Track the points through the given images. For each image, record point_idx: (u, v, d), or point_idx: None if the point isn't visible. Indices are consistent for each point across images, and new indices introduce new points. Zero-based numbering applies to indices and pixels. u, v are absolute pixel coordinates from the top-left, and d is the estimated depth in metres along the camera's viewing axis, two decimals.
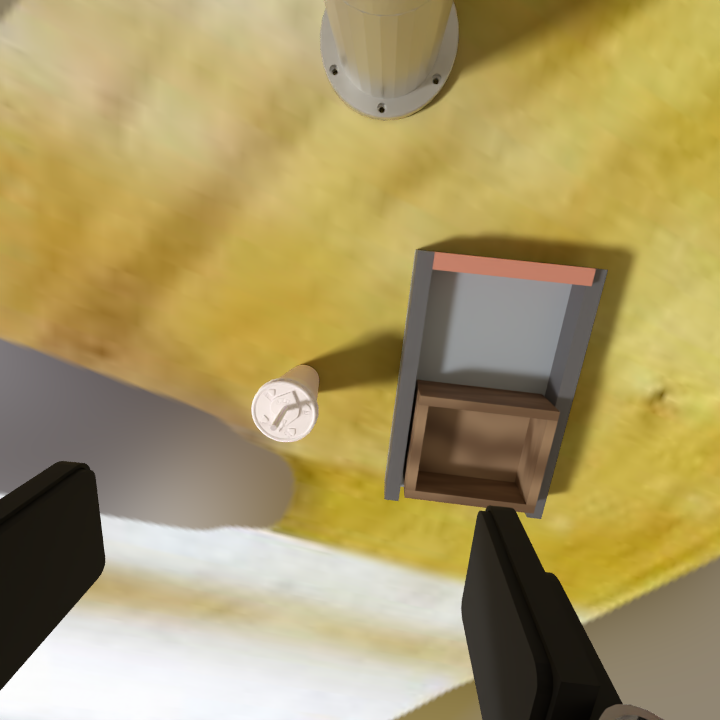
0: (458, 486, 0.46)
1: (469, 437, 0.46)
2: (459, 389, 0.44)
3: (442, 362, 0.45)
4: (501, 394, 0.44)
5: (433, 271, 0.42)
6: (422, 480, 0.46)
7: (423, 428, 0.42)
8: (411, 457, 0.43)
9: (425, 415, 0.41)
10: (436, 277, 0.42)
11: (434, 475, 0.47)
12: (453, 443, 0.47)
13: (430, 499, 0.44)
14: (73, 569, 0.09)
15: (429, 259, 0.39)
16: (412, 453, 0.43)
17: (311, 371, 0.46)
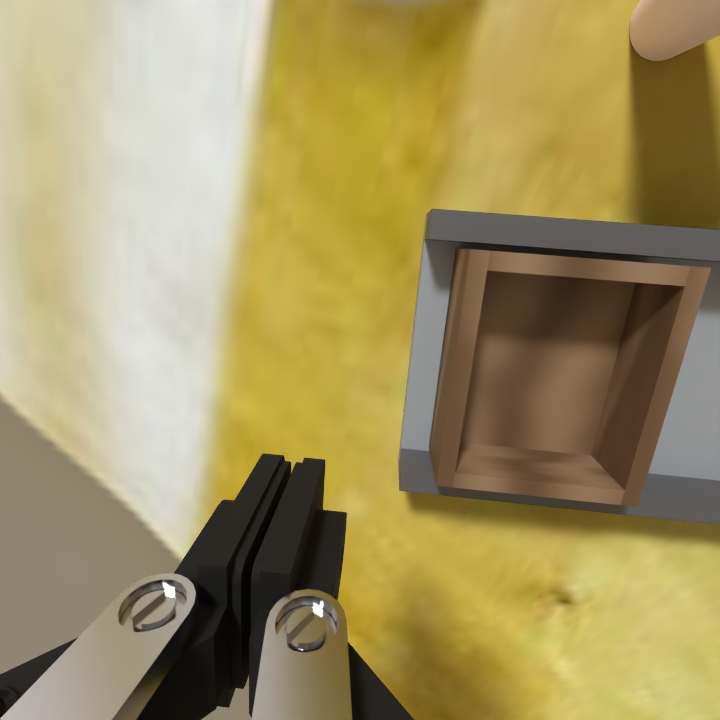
0: None
1: (535, 363, 0.26)
2: None
3: None
4: None
5: None
6: None
7: (634, 279, 0.21)
8: (566, 258, 0.21)
9: (664, 281, 0.21)
10: None
11: None
12: (525, 337, 0.26)
13: (465, 303, 0.22)
14: None
15: None
16: (577, 259, 0.21)
17: None
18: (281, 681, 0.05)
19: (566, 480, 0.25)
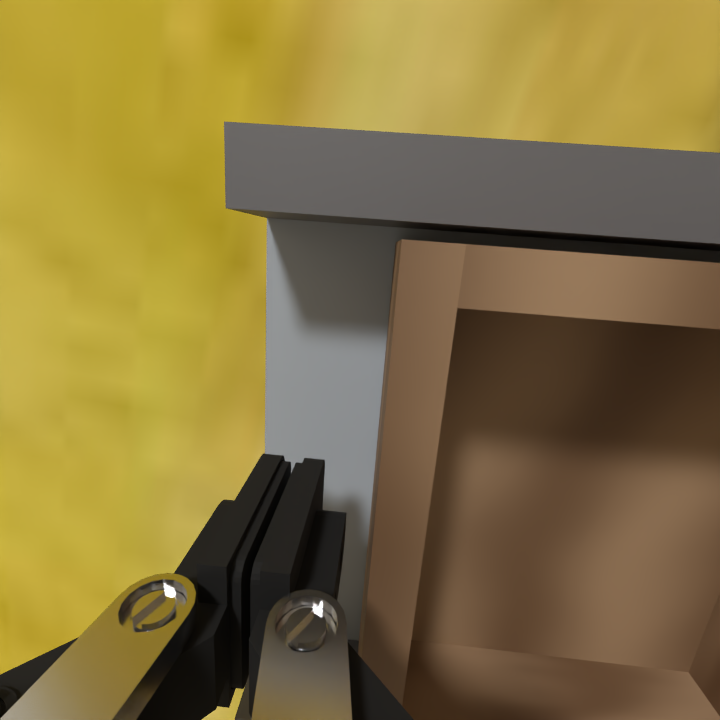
0: None
1: (578, 496, 0.12)
2: None
3: None
4: None
5: None
6: None
7: None
8: None
9: None
10: None
11: None
12: (555, 442, 0.12)
13: (394, 406, 0.07)
14: None
15: None
16: None
17: None
18: (281, 681, 0.05)
19: None
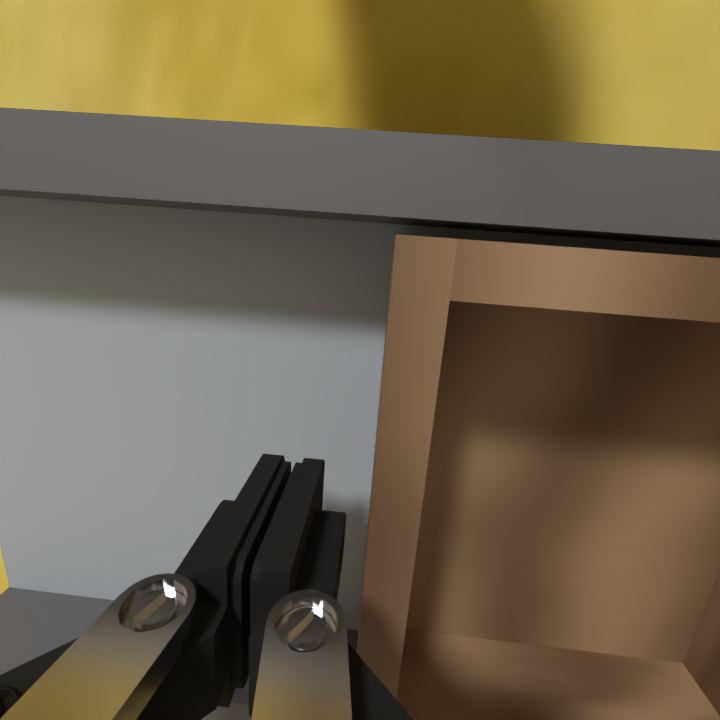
0: None
1: (573, 488, 0.12)
2: None
3: None
4: None
5: None
6: None
7: None
8: (705, 262, 0.06)
9: None
10: None
11: None
12: (550, 435, 0.12)
13: (389, 395, 0.07)
14: None
15: None
16: None
17: None
18: (281, 681, 0.05)
19: None
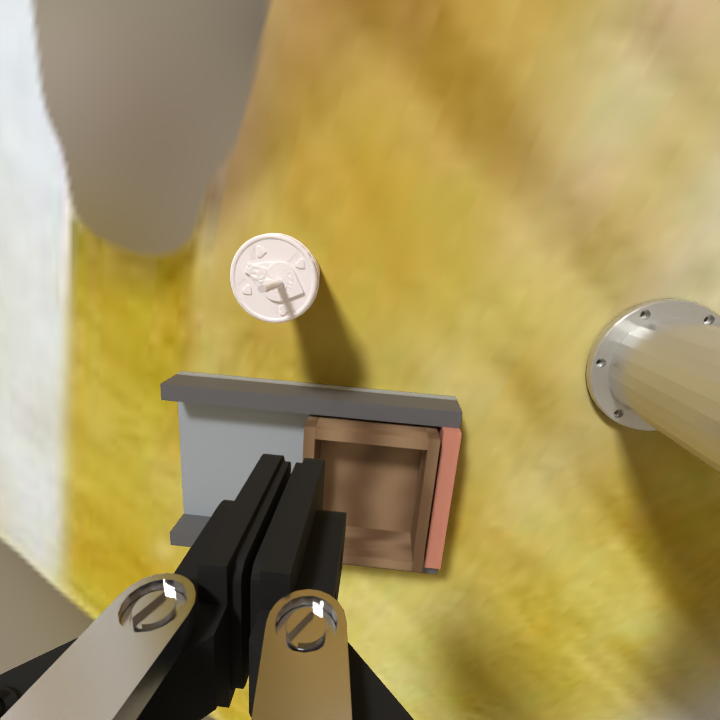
0: None
1: (368, 476, 0.41)
2: None
3: None
4: None
5: None
6: None
7: (398, 445, 0.35)
8: (359, 433, 0.35)
9: (415, 447, 0.35)
10: None
11: (319, 445, 0.40)
12: (359, 461, 0.41)
13: (304, 456, 0.36)
14: None
15: (452, 423, 0.37)
16: (365, 434, 0.35)
17: None
18: (281, 681, 0.05)
19: (379, 555, 0.39)
